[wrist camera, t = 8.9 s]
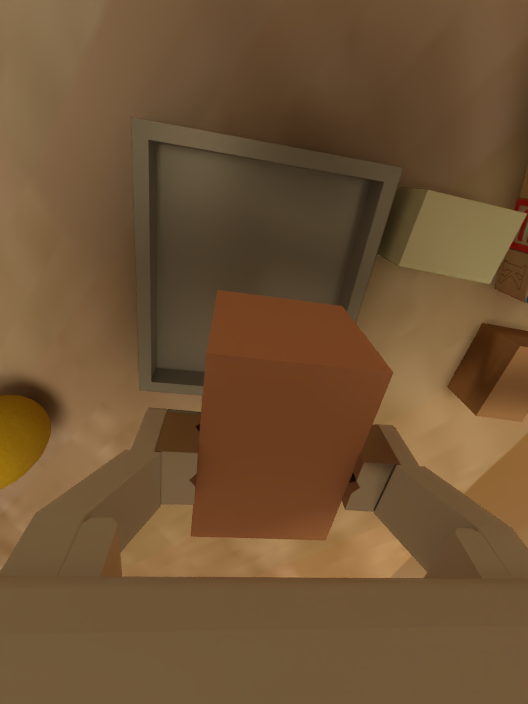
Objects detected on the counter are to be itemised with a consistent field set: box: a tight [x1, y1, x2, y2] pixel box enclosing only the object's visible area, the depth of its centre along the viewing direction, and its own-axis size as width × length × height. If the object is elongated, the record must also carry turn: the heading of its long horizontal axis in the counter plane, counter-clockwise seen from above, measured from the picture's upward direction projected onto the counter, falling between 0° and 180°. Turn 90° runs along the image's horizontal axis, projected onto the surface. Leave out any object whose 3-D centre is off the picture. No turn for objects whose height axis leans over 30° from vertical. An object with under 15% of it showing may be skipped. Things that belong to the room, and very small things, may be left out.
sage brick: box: [377, 187, 527, 284], centre depth 20 cm, size 4×6×4 cm, turn 79°
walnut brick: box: [447, 323, 528, 421], centre depth 26 cm, size 6×4×4 cm, turn 169°
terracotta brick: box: [191, 290, 393, 540], centre depth 10 cm, size 6×4×4 cm, turn 171°
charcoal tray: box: [131, 117, 403, 395], centre depth 21 cm, size 16×14×2 cm
